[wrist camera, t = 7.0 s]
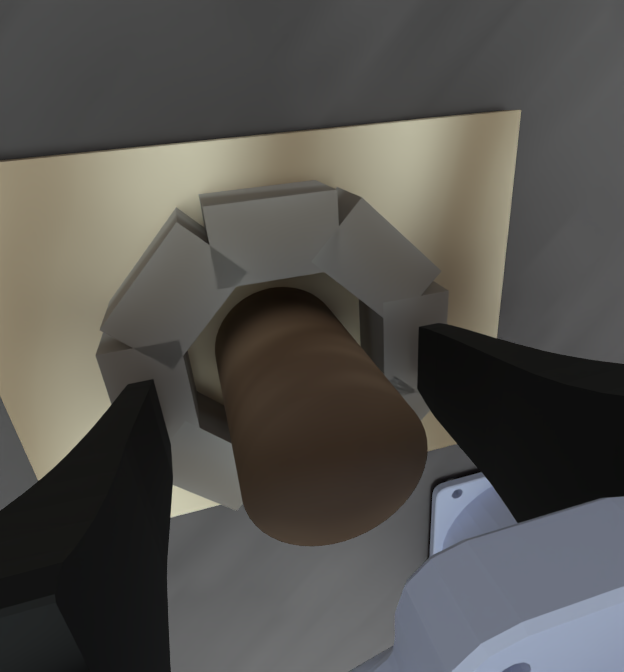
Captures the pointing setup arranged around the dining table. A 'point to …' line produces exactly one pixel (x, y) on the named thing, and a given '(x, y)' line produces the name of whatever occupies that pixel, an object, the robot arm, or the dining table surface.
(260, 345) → the walnut peg
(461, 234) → the socket board
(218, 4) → the dining table surface
